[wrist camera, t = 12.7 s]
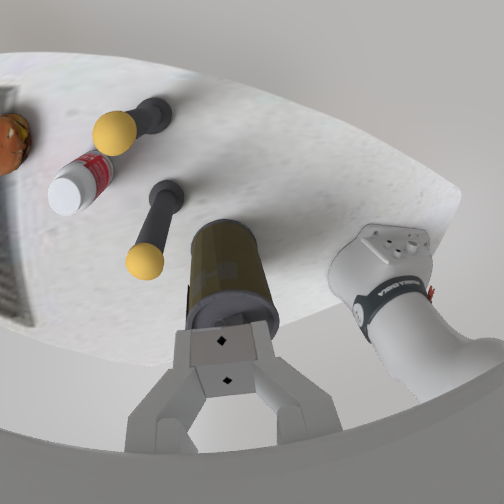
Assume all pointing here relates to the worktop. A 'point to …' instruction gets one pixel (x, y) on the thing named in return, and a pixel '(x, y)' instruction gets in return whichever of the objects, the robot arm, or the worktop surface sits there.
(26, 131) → the burger
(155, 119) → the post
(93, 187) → the pill bottle
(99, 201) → the worktop surface
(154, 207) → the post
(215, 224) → the canister
